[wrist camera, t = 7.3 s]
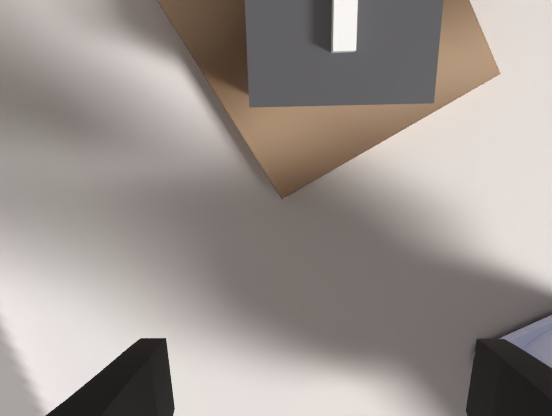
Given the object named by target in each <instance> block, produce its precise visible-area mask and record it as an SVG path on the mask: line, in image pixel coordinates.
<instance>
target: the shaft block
mask: <svg viewBox="0 0 552 416" xmlns="http://www.w3.org/2000/svg"><path fill="white" fill-rule="evenodd" d="M158 2H159V3H160V5H161V7H162V8H163V10H164V11H165V13H166V15H167V16H168V18H169V19H170V21H171V23H172V24H173V26H174V28H175V29H176V31H177V32H178V34H179V36H180V37H181V39H182V40H183V42H184V44H185V45H186V47H187V48H188V50H189V52H190V53H191V55H192V56H193V58H194V60H195V61H196V63H197V64H198V66H199V68H200V69H201V71H202V72H203V74H204V76H205V77H206V79H207V80H208V82H209V84H210V85H211V87H212V88H213V90H214V92H215V93H216V95H217V96H218V98H219V100H220V101H221V103H222V104H223V106H224V108H225V109H226V111H227V112H228V114H229V116H230V117H231V119H232V120H233V122H234V124H235V125H236V127H237V128H238V130H239V132H240V133H241V135H242V137H243V138H244V140H245V141H246V143H247V145H248V146H249V148H250V149H251V151H252V153H253V154H254V156H255V157H256V159H257V161H258V162H259V164H260V165H261V167H262V169H263V170H264V172H265V173H266V175H267V177H268V178H269V180H270V181H271V183H272V185H273V186H274V188H275V189H276V191H277V193H278V194H279V196H280V197H281V199H283V198H285V197H287V196H288V195H290V194H292V193H294V192H295V191H297V190H299V189H300V188H302V187H304V186H306V185H307V184H309V183H311V182H313V181H314V180H316V179H318V178H320V177H321V176H323V175H325V174H327V173H328V172H330V171H332V170H334V169H335V168H337V167H339V166H341V165H342V164H344V163H346V162H348V161H349V160H351V159H353V158H355V157H356V156H358V155H360V154H362V153H363V152H365V151H367V150H368V149H370V148H372V147H374V146H375V145H377V144H379V143H381V142H382V141H384V140H386V139H388V138H389V137H391V136H393V135H395V134H396V133H398V132H400V131H402V130H403V129H405V128H407V127H409V126H410V125H412V124H414V123H416V122H417V121H419V120H421V119H423V118H424V117H426V116H428V115H430V114H431V113H433V112H435V111H437V110H438V109H440V108H442V107H443V106H445V105H447V104H449V103H450V102H452V101H454V100H456V99H457V98H459V97H461V96H463V95H464V94H466V93H468V92H470V91H471V90H473V89H475V88H477V87H478V86H480V85H482V84H484V83H485V82H487V81H489V80H491V79H492V78H494V77H496V76H498V75H499V74H500V72H499V69H498V67H497V65H496V62H495V60H494V57H493V55H492V53H491V50H490V48H489V46H488V43H487V41H486V39H485V36H484V34H483V32H482V29H481V27H480V25H479V22H478V20H477V17H476V15H475V13H474V10H473V8H472V6H471V3H470V1H469V0H443V11H442V22H441V33H440V43H439V54H438V65H437V76H436V87H435V97H434V103H429V104H384V105H340V106H295V107H251V108H249V89H248V65H247V41H246V18H245V0H158Z"/></svg>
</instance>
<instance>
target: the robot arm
mask: <svg viewBox="0 0 552 416" xmlns="http://www.w3.org/2000/svg"><path fill="white" fill-rule="evenodd" d="M174 409H175V408H174V400H173V392H172V384H171V376H170V367H169V359H168V351H167V343H166V338H141V339H139V340H138V341H137V342H135V343H134V344H133V345H132V346H130V347H129V348H128V349H127V350H126V351H124V352H123V353H122V354H121V355H120V356H118V357H117V358H116V359H115V360H114V361H113V362H111V363H110V364H109V365H108V366H107V367H105V368H104V369H103V370H102V371H101V372H100V373H98V374H97V375H96V376H95V377H93V378H92V379H91V380H90V381H89V382H87V383H86V384H85V385H84V386H83V387H81V388H80V389H79V390H78V391H76V392H75V393H74V394H73V395H72V396H70V397H69V398H68V399H67V400H65V401H64V402H63V403H61V404H60V405H59V406H58V407H56V408H55V409H54V410H52V411H51V412H50V413H48V414H47V415H46V416H173V413H174ZM466 412H467V415H468V416H552V315H550V316H548V317H546V318H543V319H541V320H539V321H537V322H534V323H532V324H530V325H528V326H526V327H523V328H521V329H519V330H517V331H514V332H512V333H510V334H508V335H505V336H503V337H501V338H499V339H477V341H476V348H475V352H474V361H473V368H472V374H471V381H470V387H469V394H468V401H467V407H466Z"/></svg>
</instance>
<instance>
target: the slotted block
mask: <svg viewBox="0 0 552 416" xmlns="http://www.w3.org/2000/svg"><path fill="white" fill-rule="evenodd" d="M442 11H443V0H245V18H246V41H247V65H248V89H249V108H251V107H295V106H340V105H384V104H429V103H434V97H435V87H436V76H437V65H438V54H439V43H440V33H441V22H442Z"/></svg>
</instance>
